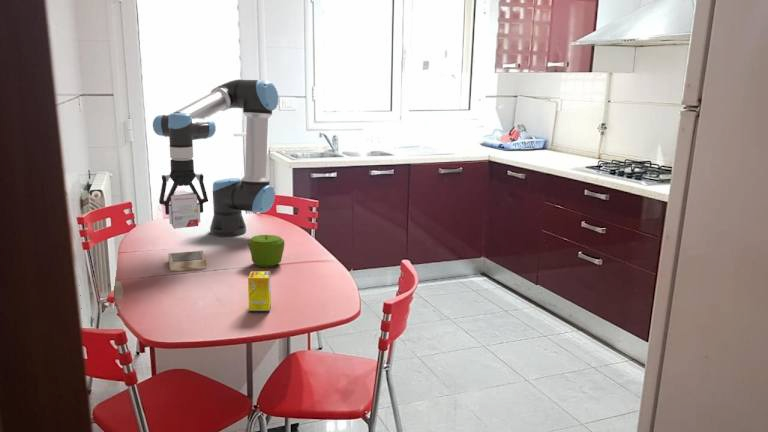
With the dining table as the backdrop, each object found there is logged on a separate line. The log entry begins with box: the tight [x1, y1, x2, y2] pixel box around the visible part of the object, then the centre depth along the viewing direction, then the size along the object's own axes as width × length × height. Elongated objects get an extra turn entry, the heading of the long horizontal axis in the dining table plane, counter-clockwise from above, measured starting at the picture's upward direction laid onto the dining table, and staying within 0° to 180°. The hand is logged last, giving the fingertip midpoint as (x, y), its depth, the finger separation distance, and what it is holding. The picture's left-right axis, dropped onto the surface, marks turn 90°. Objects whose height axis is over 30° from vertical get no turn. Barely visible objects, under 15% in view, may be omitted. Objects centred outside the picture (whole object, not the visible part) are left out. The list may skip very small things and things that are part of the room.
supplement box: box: [247, 270, 272, 314], centre depth 176 cm, size 6×6×11 cm
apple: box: [247, 234, 285, 268], centre depth 217 cm, size 12×12×11 cm
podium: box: [167, 250, 207, 272], centre depth 215 cm, size 12×12×3 cm
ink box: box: [170, 191, 199, 229], centre depth 211 cm, size 9×5×12 cm, turn 116°
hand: (184, 222), depth 212 cm, fingers closed on ink box, 9 cm apart
